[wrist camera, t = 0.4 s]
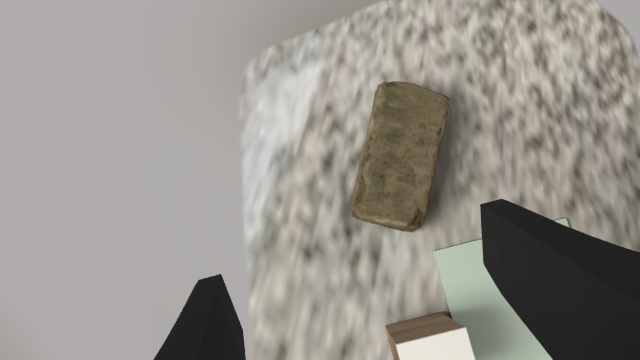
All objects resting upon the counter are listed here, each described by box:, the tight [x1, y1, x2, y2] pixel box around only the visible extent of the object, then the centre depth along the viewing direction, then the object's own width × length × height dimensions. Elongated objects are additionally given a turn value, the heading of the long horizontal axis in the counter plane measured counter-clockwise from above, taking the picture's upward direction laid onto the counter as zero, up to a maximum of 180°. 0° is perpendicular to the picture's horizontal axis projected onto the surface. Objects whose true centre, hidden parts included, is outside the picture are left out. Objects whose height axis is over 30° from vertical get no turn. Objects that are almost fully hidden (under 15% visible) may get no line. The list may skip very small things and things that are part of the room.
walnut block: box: [385, 312, 475, 360], centre depth 33 cm, size 4×4×8 cm
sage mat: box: [433, 218, 569, 360], centre depth 37 cm, size 14×11×1 cm
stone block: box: [351, 82, 449, 232], centre depth 37 cm, size 6×12×5 cm, turn 167°
